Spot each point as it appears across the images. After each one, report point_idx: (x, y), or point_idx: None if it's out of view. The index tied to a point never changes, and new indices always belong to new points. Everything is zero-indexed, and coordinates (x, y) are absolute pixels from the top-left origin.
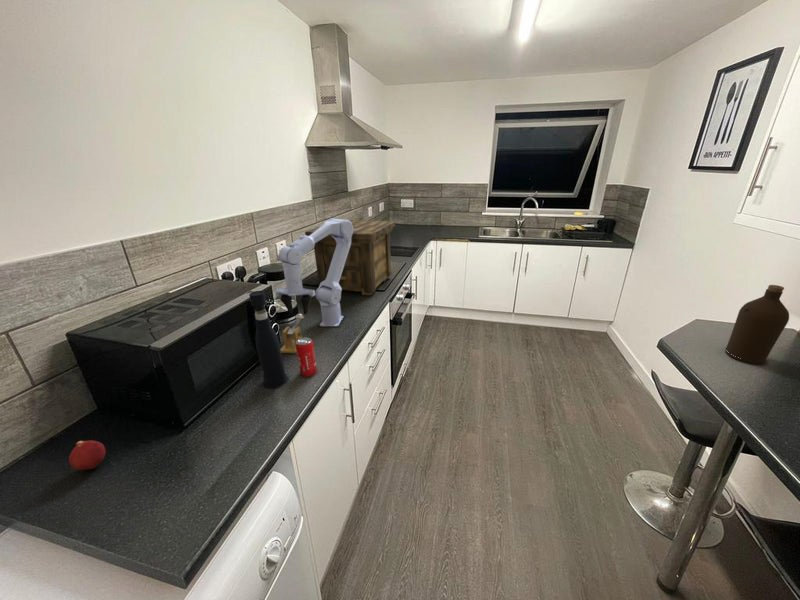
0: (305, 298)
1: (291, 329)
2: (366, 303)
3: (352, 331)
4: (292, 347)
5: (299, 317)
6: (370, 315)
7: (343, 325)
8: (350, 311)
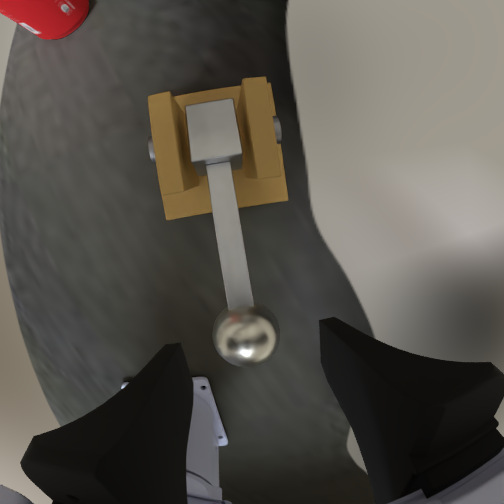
0: (25, 464)
1: (219, 146)
2: None
3: (48, 350)
4: None
5: (232, 317)
6: None
7: (109, 393)
8: None
